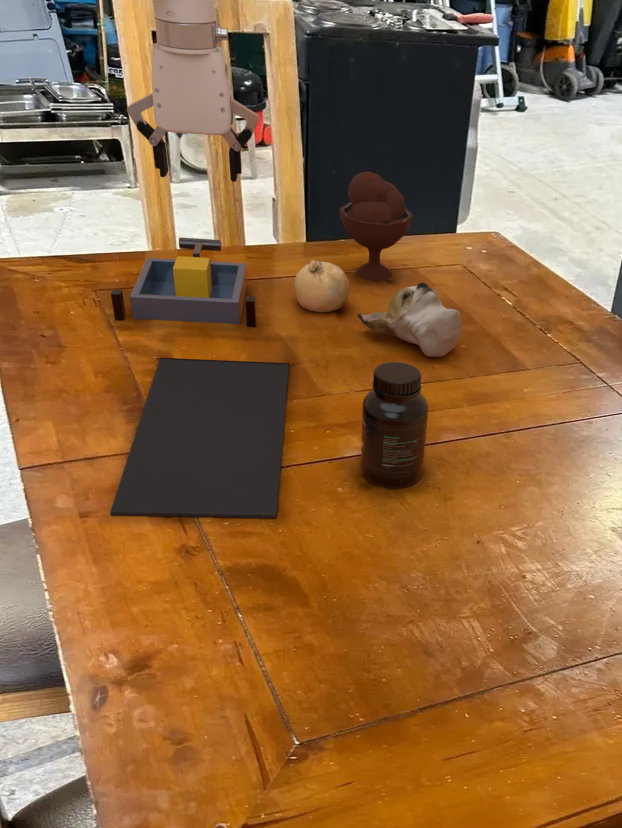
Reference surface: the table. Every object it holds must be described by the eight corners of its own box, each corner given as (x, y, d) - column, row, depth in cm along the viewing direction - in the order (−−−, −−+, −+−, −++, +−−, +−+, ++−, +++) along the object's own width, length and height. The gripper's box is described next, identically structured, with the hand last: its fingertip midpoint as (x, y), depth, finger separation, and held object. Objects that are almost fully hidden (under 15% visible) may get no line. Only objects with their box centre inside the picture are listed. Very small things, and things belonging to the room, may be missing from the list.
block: (176, 299, 124) (172, 267, 121) (180, 287, 128) (177, 255, 125) (209, 301, 125) (206, 269, 122) (212, 289, 128) (209, 257, 125)
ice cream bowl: (380, 293, 134) (385, 189, 125) (324, 272, 139) (325, 169, 129) (422, 275, 141) (429, 175, 131) (367, 256, 146) (370, 157, 136)
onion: (296, 294, 131) (295, 246, 126) (350, 298, 132) (351, 250, 127) (292, 317, 125) (290, 267, 120) (348, 321, 126) (349, 271, 121)
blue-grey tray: (240, 327, 121) (237, 292, 118) (133, 322, 119) (128, 286, 116) (250, 272, 136) (248, 239, 132) (155, 267, 134) (151, 234, 131)
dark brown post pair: (256, 331, 121) (254, 301, 118) (115, 324, 118) (110, 293, 115) (256, 326, 122) (255, 296, 119) (117, 319, 119) (112, 288, 117)
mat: (110, 515, 87) (110, 512, 87) (169, 330, 118) (169, 328, 118) (276, 518, 89) (276, 515, 89) (291, 336, 120) (291, 333, 120)
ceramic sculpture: (426, 306, 110) (353, 272, 119) (423, 372, 115) (353, 335, 124) (487, 291, 116) (413, 259, 124) (481, 354, 121) (411, 320, 130)
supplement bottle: (360, 454, 100) (363, 355, 92) (420, 457, 100) (429, 358, 92) (360, 488, 94) (363, 386, 87) (423, 491, 95) (433, 390, 87)
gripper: (257, 35, 118) (263, 172, 129) (122, 24, 116) (140, 164, 127) (253, 46, 112) (260, 188, 124) (111, 35, 110) (131, 180, 121)
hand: (199, 176), depth 125 cm, fingers open, 9 cm apart
